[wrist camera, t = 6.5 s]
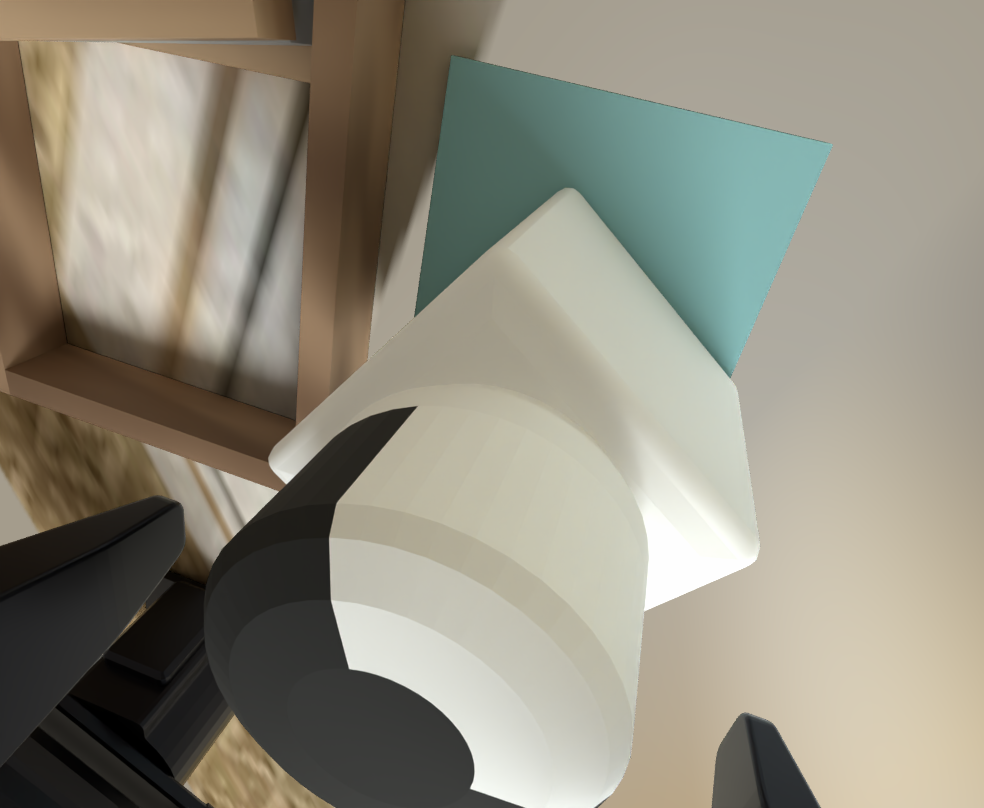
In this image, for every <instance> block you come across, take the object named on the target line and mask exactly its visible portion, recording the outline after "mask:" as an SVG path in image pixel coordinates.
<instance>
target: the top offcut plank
mask: <svg viewBox="0 0 984 808" xmlns="http://www.w3.org/2000/svg"><path fill="white" fill-rule="evenodd" d="M267 40H296V32H295V24H294V16H293V7H292V0H0V41H267Z"/></svg>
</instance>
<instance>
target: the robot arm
mask: <svg viewBox="0 0 984 808" xmlns="http://www.w3.org/2000/svg"><path fill="white" fill-rule="evenodd" d="M185 540H186V537H185V522H184V509H183V506H182V505H181V503H179V502H177V501H174V500H172V499H169V498H166V497H164V496H158V495H157V496H152V497H149V498H145V499H142V500H139V501H136V502H133V503H130V504H127V505H124V506H121V507H118V508H115V509H112V510H109V511H106V512H103V513H100V514H97V515H94V516H90V517H87V518H84V519H81V520H78V521H75V522H72V523H69V524H66V525H63V526H60V527H57V528H54V529H51V530H48V531H45V532H42V533H39V534H35V535H33V536H30V537H26V538H24V539H20V540H17V541H14V542H11V543H8V544H5V545H2V546H0V808H214V807H213V806H212V805H211V804H209V803H207V804H205V803H204V802H202V801H201V800H200V799H199V798H197V797H196V796H195V795H194V794H192V793H191V792H190V791H189V790H187V789H186V788H185V787H184V786H183V785H184V784H185V782H186V781H187V780H188V778H189V777H190V776H191V774H192V773H193V771H194V770H195V769H196V767H197V766H198V764H199V763H200V762H201V760H202V759H203V757H204V756H205V755H206V753H207V752H208V751H209V749H210V748H211V746H212V745H213V744H214V742H215V741H216V739H217V738H218V737H219V735H220V734H221V732H222V731H223V730H224V728H225V727H226V726H227V724H228V723H229V721H230V720H231V719H232V717H233V716H234V712H233V711H232V710H231V708H230V707H229V705H228V704H227V702H226V700H225V698H224V696H223V694H222V693H221V691H220V689H219V687H218V685H217V683H216V680H215V678H214V675H213V673H212V670H211V668H210V664H209V660H208V656H207V652H206V648H205V636H204V598H205V589H206V586H205V585H203V584H200V583H198V582H195V581H193V580H190V579H187V578H185V577H182V576H180V575H177V574H175V573H172V572H169V569H170V568H171V566H172V565H173V564H174V562H175V561H176V560H177V558H178V557H179V556H180V554H181V552H182V550H183V548H184V545H185ZM145 602H146V610H145V611H144V612H143V613H142V614H141V615H140V616H139V617H138V618H137V619H136V620H135V621H134V622H133V623H132V624H131V625H130V626H129V627H128V628H127V629H126V630H125V631H124V632H123V630H124V629H125V628H126V627H127V625H128V624H129V623H130V622H131V620H132V619H133V618H134V616H135V615H136V614H137V612H138V611H139V610H140V608H141V607H142V605H143V604H144V603H145ZM122 632H123V633H122ZM121 633H122V634H121ZM120 634H121V635H120ZM119 635H120V636H119ZM118 636H119V637H118ZM712 808H821V807H820V805H819V804H818V802H817V800H816V798H815V796H814V795H813V793H812V791H811V789H810V788H809V786H808V784H807V782H806V780H805V778H804V777H803V775H802V773H801V771H800V769H799V768H798V766H797V764H796V762H795V761H794V759H793V757H792V755H791V753H790V751H789V750H788V748H787V746H786V744H785V742H784V741H783V739H782V737H781V735H780V733H779V732H778V730H777V728H776V727H775V726H774V725H773V723H771V722H770V721H768V720H766V719H763V718H760V717H757V716H755V715H752V714H749V713H742V714H741V715H740V716H739V717H738V718H737V719H736V721H735V722H734V724H733V725H732V727H731V728H730V730H729V732H728V733H727V735H726V736H725V738H724V739H723V741H722V742H721V744H720V746H719V749H718V752H717V757H716V764H715V776H714V787H713V798H712Z"/></svg>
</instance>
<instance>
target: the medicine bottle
mask: <svg viewBox="0 0 984 808" xmlns="http://www.w3.org/2000/svg"><path fill="white" fill-rule="evenodd" d="M268 460H269V465H270V467H271V469H272V470H273V472H274V473H275V474H276V475H277V476H278V477H279V478H280V479H281V480H282V481H283V482H284V483H285V484H286V485H285V486H284V487H283V488H282V489H281V490H280V491H279V492H278V493H277V494H276V495H275V496H274V497H273V498H272V499H271V500H270V501H269V502H268V503H267V504H266V505H265V506H264V507H263V508H262V509H261V510H260V511H259V512H258V513H257V514H256V515H255V516H254V517H253V518H252V519H251V520H250V521H249V522H248V523H247V524H246V525H245V526H244V527H243V528H242V529H241V530H240V531H239V532H238V533H237V534H236V535H235V536H234V537H233V538H232V540H231V541H230V542H229V543H228V544H227V545H226V546H225V547H224V548H223V549H222V551H221V552H220V554H219V556H218V557H217V559H216V561H215V562H214V564H213V566H212V568H211V571H210V574H209V577H208V580H207V583H206V589H205V598H204V636H205V648H206V652H207V656H208V660H209V664H210V668H211V670H212V673H213V675H214V678H215V680H216V683H217V685H218V687H219V689H220V691H221V693H222V694H223V696H224V698H225V700H226V702H227V704H228V705H229V707H230V708H231V710H232V711H233V712H234V714H235V715H236V717H237V718H238V720H239V721H240V723H241V724H242V725H243V726H244V727H245V729H246V730H247V731H248V732H249V733H250V735H251V736H252V737H253V738H254V739H255V740H256V742H257V743H258V744H259V745H260V746H261V747H262V748H263V749H264V750H265V751H266V752H267V753H268V754H269V755H270V756H271V757H272V758H273V759H274V760H275V761H276V762H277V763H278V764H279V765H280V766H281V767H282V768H283V769H284V770H285V771H286V772H287V773H288V774H289V775H290V776H292V777H293V778H294V779H295V780H296V781H298V782H299V783H300V784H301V785H303V786H304V787H305V788H307V789H308V790H309V791H311V792H312V793H314V794H315V795H316V796H318V797H319V798H321V799H323V800H324V801H326V802H327V803H329V804H331V805H332V806H334V807H335V808H598V807H599V806H600V805H601V804H602V803H603V802H604V801H605V800H606V799H607V798H608V797H609V796H610V795H611V794H612V793H613V792H614V790H615V789H616V787H617V786H618V784H619V783H620V781H621V780H622V778H623V776H624V774H625V771H626V768H627V765H628V763H629V760H630V757H631V750H632V741H633V732H634V721H635V710H636V698H637V687H638V676H639V666H640V654H641V642H642V632H643V621H644V611H646V610H648V609H650V608H653V607H655V606H657V605H660V604H662V603H664V602H666V601H669V600H671V599H673V598H676V597H678V596H680V595H682V594H685V593H687V592H689V591H692V590H694V589H696V588H698V587H701V586H703V585H705V584H707V583H710V582H712V581H715V580H717V579H719V578H722V577H724V576H726V575H728V574H731V573H733V572H735V571H738V570H740V569H742V568H745V567H747V566H749V565H750V564H752V563H753V562H754V561H756V559H757V556H758V552H759V549H760V540H759V533H758V526H757V519H756V513H755V506H754V499H753V492H752V485H751V479H750V472H749V465H748V458H747V452H746V444H745V438H744V431H743V424H742V417H741V411H740V403H739V397H738V391H737V388H736V386H735V384H734V383H733V382H732V381H731V379H730V378H729V377H728V376H727V374H726V373H725V372H724V371H723V369H722V368H721V367H720V366H719V364H718V363H717V362H716V361H715V359H714V358H713V357H712V356H711V355H710V353H709V352H708V351H707V350H706V348H705V347H704V346H703V345H702V343H701V342H700V341H699V340H698V338H697V337H696V336H695V335H694V334H693V332H692V331H691V330H690V329H689V327H688V326H687V325H686V324H685V322H684V321H683V320H682V319H681V317H680V316H679V315H678V314H677V313H676V311H675V310H674V309H673V308H672V306H671V305H670V304H669V303H668V301H667V300H666V299H665V298H664V296H663V295H662V294H661V293H660V291H659V290H658V289H657V288H656V287H655V285H654V284H653V283H652V282H651V280H650V279H649V278H648V277H647V275H646V274H645V273H644V272H643V270H642V269H641V268H640V267H639V266H638V264H637V263H636V262H635V261H634V259H633V258H632V257H631V256H630V254H629V253H628V252H627V251H626V249H625V248H624V247H623V246H622V244H621V243H620V242H619V241H618V240H617V238H616V237H615V236H614V235H613V233H612V232H611V231H610V230H609V228H608V227H607V226H606V225H605V223H604V222H603V221H602V220H601V219H600V217H599V216H598V215H597V214H596V212H595V211H594V210H593V209H592V207H591V206H590V205H589V204H588V202H587V201H586V200H585V199H584V197H583V196H582V195H581V194H580V193H579V192H578V191H576V190H575V189H574V188H564V189H562V190H560V191H558V192H557V193H556V194H555V195H553V196H552V197H551V198H550V199H549V200H547V201H546V202H545V203H544V204H543V205H541V206H540V207H539V208H538V209H537V210H535V211H534V212H533V213H532V214H531V215H529V216H528V217H527V218H526V219H525V220H523V221H522V222H521V223H520V224H519V225H517V226H516V227H515V228H514V229H513V230H512V231H510V232H509V233H508V234H507V235H506V236H504V237H503V238H502V239H501V240H500V241H498V242H497V243H496V244H495V245H494V246H492V247H491V248H490V249H489V250H488V251H486V252H485V253H484V254H483V255H482V256H481V257H480V258H479V259H478V260H477V261H475V262H474V263H473V264H472V265H471V266H470V267H469V268H468V269H467V270H466V271H465V272H463V273H462V274H461V275H460V276H459V277H458V278H457V279H456V280H455V281H454V282H453V283H451V284H450V285H449V286H448V287H447V288H446V289H445V290H444V291H443V292H442V293H441V294H440V295H438V296H437V297H436V298H435V299H434V300H433V301H432V302H431V303H430V304H429V305H428V306H426V307H425V308H424V309H423V310H422V311H421V312H420V313H419V314H418V315H417V316H416V317H414V318H413V319H412V320H411V321H410V322H409V323H408V324H407V325H406V326H405V327H404V328H403V329H402V330H400V331H399V332H398V333H397V334H396V335H395V336H394V337H393V338H392V339H391V340H389V341H388V342H387V343H386V344H385V345H384V346H383V347H382V348H381V349H380V350H379V351H377V352H376V353H375V354H374V355H373V356H372V357H371V358H370V359H369V360H368V361H367V362H366V363H364V364H363V365H362V366H361V367H360V368H359V369H358V370H357V371H356V372H355V373H354V374H352V375H351V376H350V377H349V378H348V379H347V380H346V381H345V382H344V383H343V384H342V385H340V386H339V387H338V388H337V389H336V390H335V391H334V392H333V393H332V394H331V395H330V396H329V397H327V398H326V399H325V400H324V401H323V402H322V403H321V404H320V405H319V406H318V407H317V408H315V409H314V410H313V411H312V412H311V413H310V414H309V415H308V416H307V417H306V418H305V419H303V420H302V421H301V422H300V423H299V424H298V425H297V426H296V427H295V428H294V429H293V430H292V431H290V432H289V433H288V434H287V435H286V436H285V437H284V438H283V439H282V440H281V441H280V442H278V443H277V444H276V445H275V446H274V448H273V449H272V451H271V453H270V455H269V457H268Z"/></svg>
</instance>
